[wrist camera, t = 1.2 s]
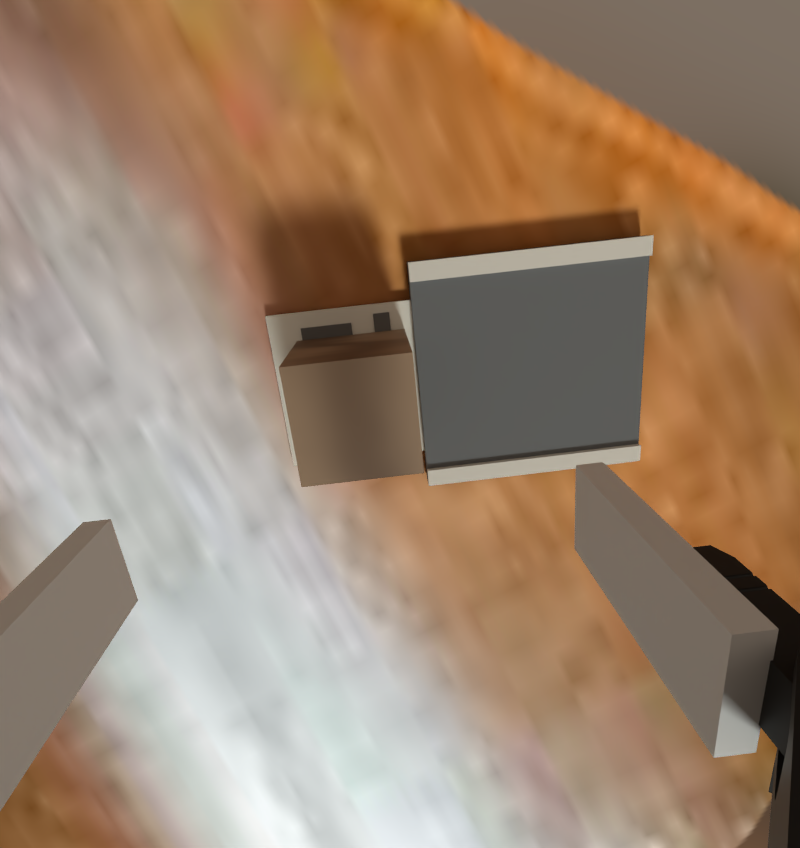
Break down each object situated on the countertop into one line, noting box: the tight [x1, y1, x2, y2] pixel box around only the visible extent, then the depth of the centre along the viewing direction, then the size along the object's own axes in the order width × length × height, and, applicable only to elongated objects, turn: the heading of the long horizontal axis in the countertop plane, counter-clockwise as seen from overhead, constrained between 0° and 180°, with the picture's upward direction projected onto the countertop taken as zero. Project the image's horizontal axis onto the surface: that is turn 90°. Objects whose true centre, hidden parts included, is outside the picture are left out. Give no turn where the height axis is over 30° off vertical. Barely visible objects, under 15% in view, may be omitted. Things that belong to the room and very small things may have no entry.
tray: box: [407, 235, 654, 486], centre depth 29 cm, size 13×13×1 cm
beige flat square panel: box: [265, 300, 425, 466], centre depth 30 cm, size 9×9×1 cm
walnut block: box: [279, 329, 424, 487], centre depth 27 cm, size 6×6×6 cm
